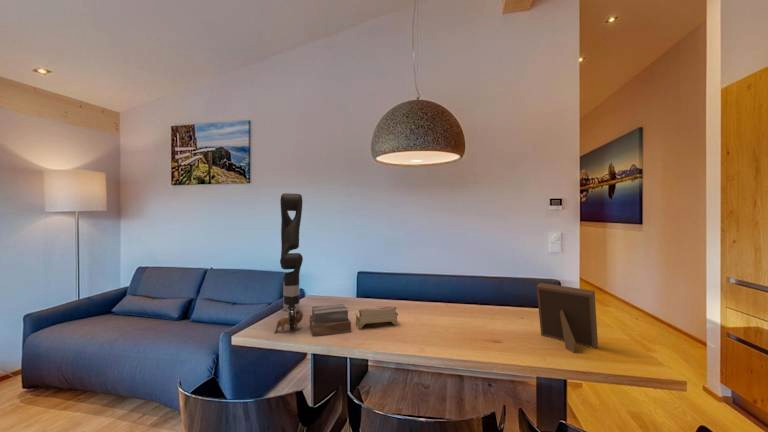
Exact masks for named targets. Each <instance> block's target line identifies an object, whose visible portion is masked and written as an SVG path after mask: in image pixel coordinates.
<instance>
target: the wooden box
mask: <svg viewBox="0 0 768 432" xmlns="http://www.w3.org/2000/svg"><path fill="white" fill-rule="evenodd" d="M309 328H310V331H311V335H312V337H313V336H314V337H321V336H330V335H338V334H348V333H351V332H352V322H351V320H350V318H349V311H348V309H347V307H346V305H345V304H344V303H343V304H342V303H341V304H329V305H328V304H326V305H317V306H311V315H309Z"/></svg>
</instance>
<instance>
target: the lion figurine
mask: <svg viewBox="0 0 768 432" xmlns="http://www.w3.org/2000/svg"><path fill="white" fill-rule="evenodd" d="M303 316H304V312H303V311H302V310H301V309H298V310H296V317H295V322H294V331H296V332H297V330H298V331H299V329H298V325H299V324H300V323H301V322H302V320H303ZM291 320H294V318H292V319H291ZM289 325H290V323H289V318H288V317H280V319H278V321H277V322H276V328H275V331H274V332H273V334H276V333H279V332H280V330H279V329H281V332H282V333H283V334H286V333H287V331H285V330H284V329H285V327H286V326H289Z"/></svg>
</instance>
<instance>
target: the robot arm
mask: <svg viewBox="0 0 768 432" xmlns="http://www.w3.org/2000/svg"><path fill="white" fill-rule="evenodd" d="M279 203H280V204H279V205H280V214H281V215H280V216H281V217H280V219H281V224H280V225H281V227H280V228H281V229H280V238H281V239H280V240H281V241H280V243H281V250H280V251H281V252H280V260H279V262H280V263H279V264H280V267H281V269H282V270H285V271H286V270H291V271H288V272H285V274H283V275H284V276H283V281H282V283H283V285H282V286H283V287H282V289H283V290H282V291H283V293H282V295H283V299H282V300H283V304H282V305H283V311H284V312H287V316H288V317H287V318H289V323H290V325H288V326H289V331H295V329H294V328H295V326H294V322H295V317H296V311H298V310H300V303H301V301H300V300H301V299H300V298H301V297H300V292H301V290H300V273H301V272H300V271H301V268H302V265H303V261H304V259H303V258H304V257H303V255H302V254H301V253H300V252H293V253H291V251H294V250H297V249H298V248H300V229H301V228H300V227H301V222H302V213H303V196H302V194H300V193H287V192H286V193H282V194H281V196H280V202H279ZM291 211H292V212H295V214H294V217H293V219H292V217H291V216H290V214H289V212H291ZM292 318H294V320H291V319H292Z"/></svg>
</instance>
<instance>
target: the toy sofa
mask: <svg viewBox="0 0 768 432" xmlns="http://www.w3.org/2000/svg"><path fill="white" fill-rule="evenodd" d="M396 310H397V307H396V306H395V305H394V306H388V307H379V308H360V309H359V310H358V311H355V312H354V314H355V325H356V327H357V328H358V329H359V330H361V329H362V328H363V327H364V326H365V325H366V324H375V323H387V322H391V323H392V324H393V325H394V326H395V327H396V326H398V316H399V312H397V311H396Z"/></svg>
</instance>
